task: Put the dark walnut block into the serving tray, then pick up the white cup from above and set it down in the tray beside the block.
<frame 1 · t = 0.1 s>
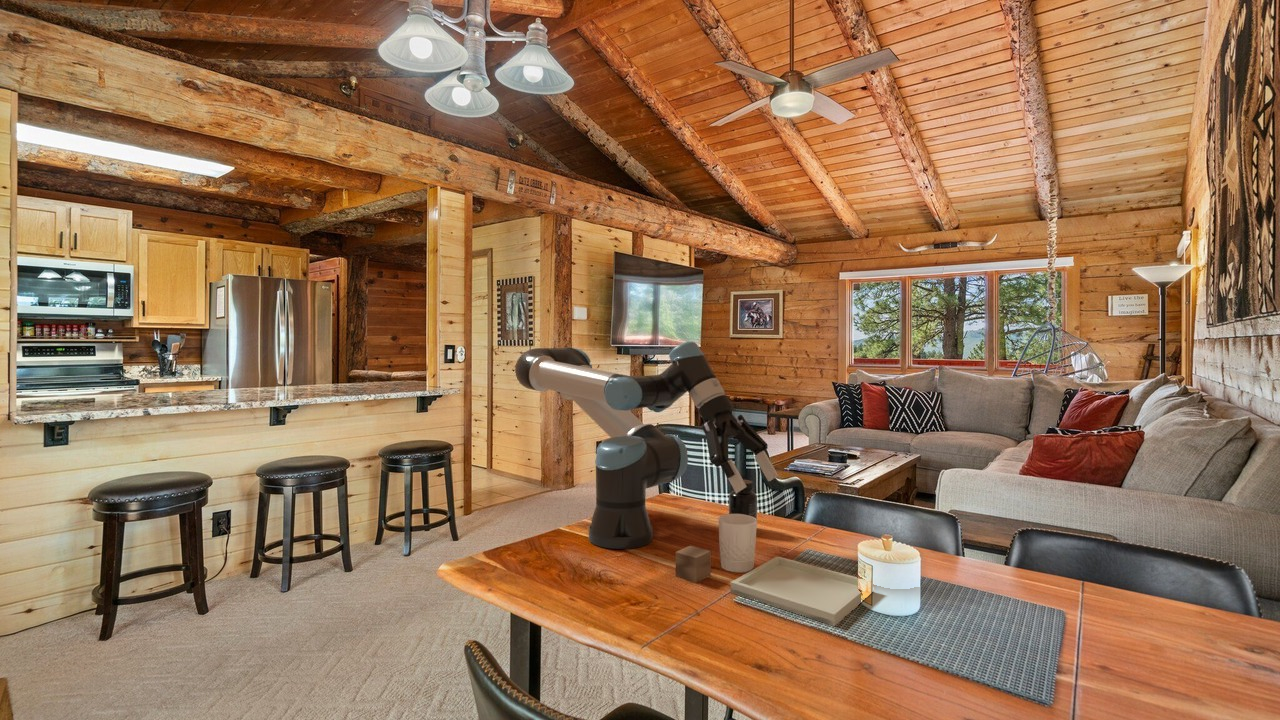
hand: (758, 484, 134), 15 cm above the table, tool tilted 35°, fingers open, 13 cm apart
walnut block: (693, 576, 122), on the table
tray: (802, 592, 114), on the table
supplement bottle: (742, 530, 151), on the table
white cup: (737, 567, 127), on the table
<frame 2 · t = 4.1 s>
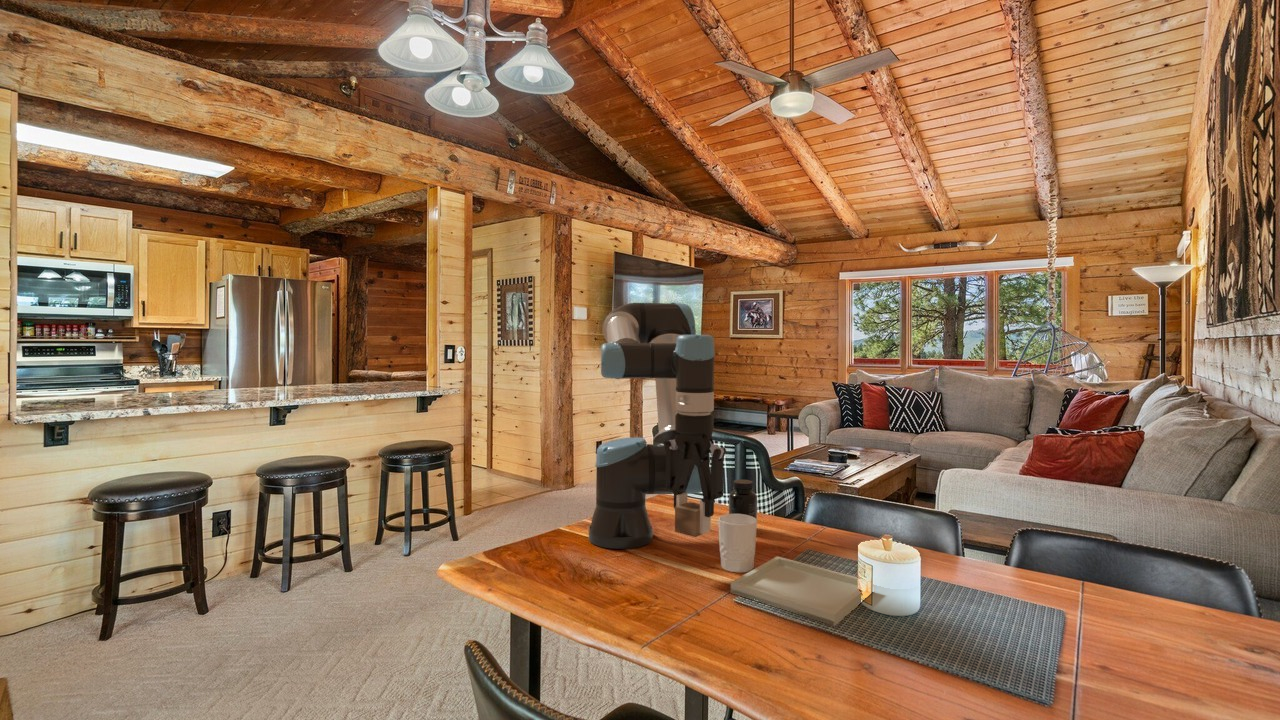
hand: (693, 528, 122), 9 cm above the table, tool pointing down, fingers closed on walnut block, 5 cm apart
walnut block: (692, 531, 121), point 9 cm above the table, touching gripper
everything else where it was.
when the fingers open (1 cm above the table, at t = 7.2 s): walnut block stays where it is, resting on tray.
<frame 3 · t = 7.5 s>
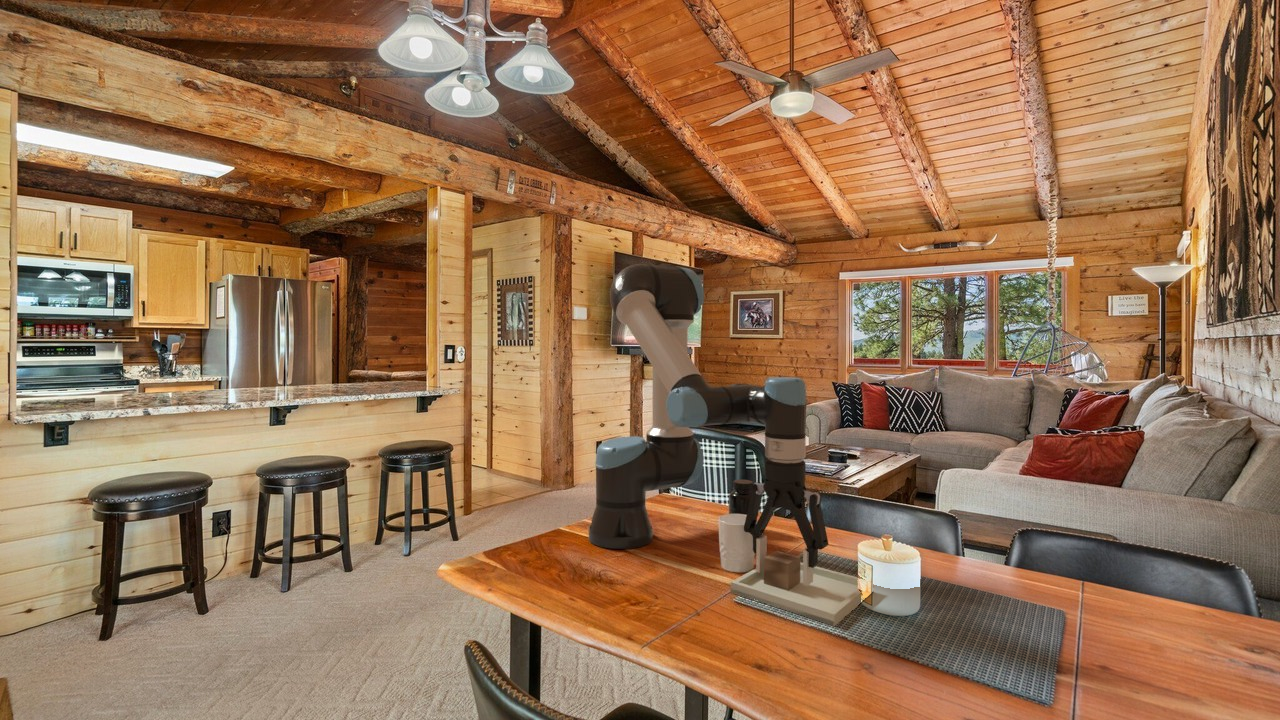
hand: (784, 576, 116), 2 cm above the table, tool pointing down, fingers open, 9 cm apart
walnut block: (782, 583, 116), point 1 cm above the table, touching tray
everything else where it was.
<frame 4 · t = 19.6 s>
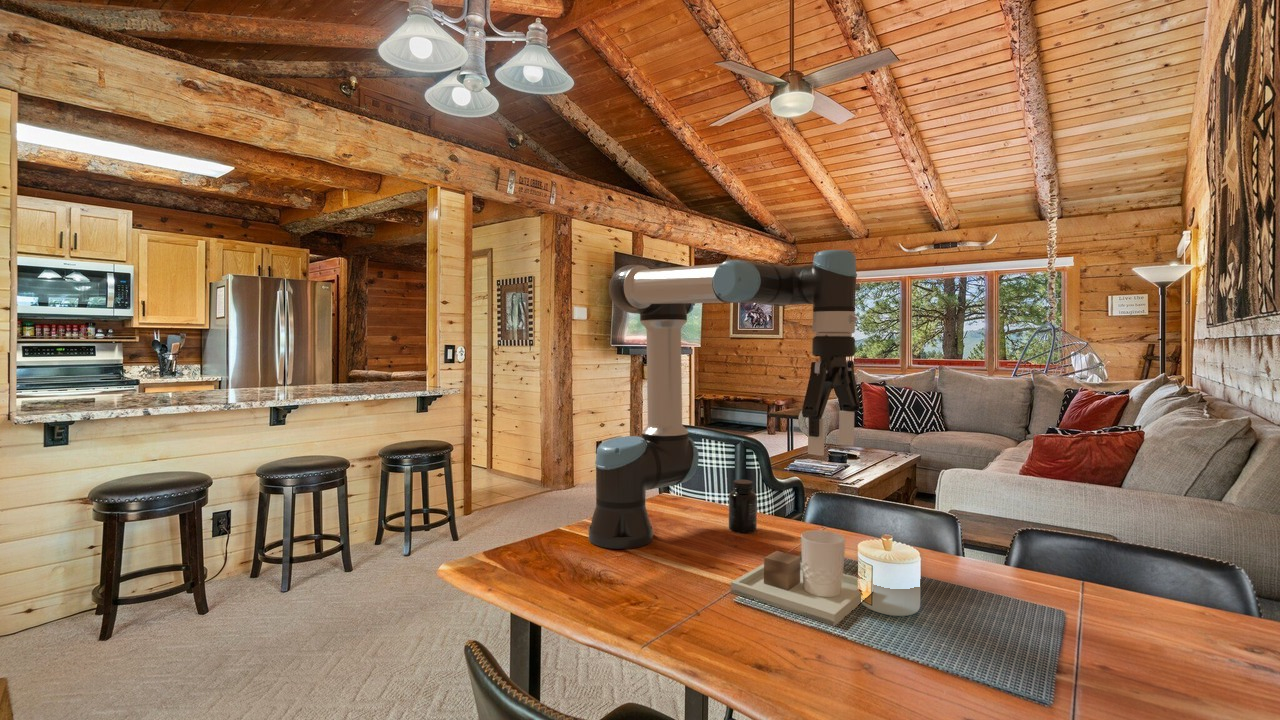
hand: (831, 449, 114), 27 cm above the table, tool pointing down, fingers open, 13 cm apart
white cup: (822, 591, 113), point 1 cm above the table, touching tray
everything else where it was.
at the end: white cup inside the target area on the tray (3.5 cm from its centre), point 0.6 cm above the tray's base; white cup tilted 0°; walnut block inside the target area on the tray (4.0 cm from its centre), point 0.8 cm above the tray's base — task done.
